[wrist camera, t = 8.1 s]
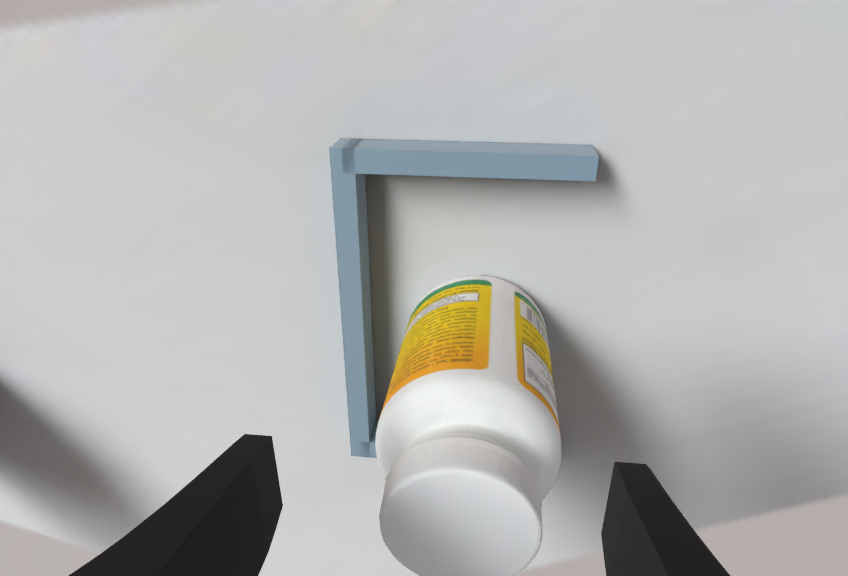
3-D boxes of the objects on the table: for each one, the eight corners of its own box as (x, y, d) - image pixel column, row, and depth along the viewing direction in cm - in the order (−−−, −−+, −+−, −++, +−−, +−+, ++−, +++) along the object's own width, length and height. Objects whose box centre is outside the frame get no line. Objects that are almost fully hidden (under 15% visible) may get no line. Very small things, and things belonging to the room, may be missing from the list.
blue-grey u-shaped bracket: (591, 145, 19) (598, 155, 17) (552, 447, 24) (555, 472, 23) (340, 138, 20) (329, 148, 18) (359, 431, 25) (351, 455, 24)
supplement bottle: (570, 301, 21) (618, 499, 13) (511, 406, 24) (518, 631, 15) (435, 248, 21) (392, 415, 13) (389, 360, 24) (327, 564, 15)
